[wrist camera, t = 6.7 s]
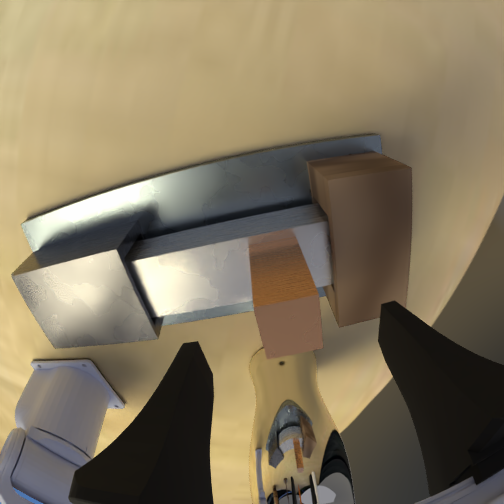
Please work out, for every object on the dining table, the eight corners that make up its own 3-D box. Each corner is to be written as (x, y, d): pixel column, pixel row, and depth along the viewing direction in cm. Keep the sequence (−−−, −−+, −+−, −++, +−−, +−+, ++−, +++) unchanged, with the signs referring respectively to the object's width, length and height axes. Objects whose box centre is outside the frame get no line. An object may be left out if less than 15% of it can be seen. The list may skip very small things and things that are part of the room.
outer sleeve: (81, 330, 24) (61, 369, 20) (26, 220, 19) (-11, 249, 14) (380, 276, 23) (407, 315, 18) (374, 133, 18) (414, 146, 13)
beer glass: (272, 326, 24) (298, 509, 11) (335, 351, 26) (381, 503, 13) (230, 374, 27) (231, 529, 14) (290, 393, 29) (311, 529, 15)
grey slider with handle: (136, 296, 21) (101, 383, 14) (114, 247, 19) (62, 326, 12) (363, 251, 20) (417, 329, 13) (360, 195, 18) (428, 257, 11)
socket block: (321, 285, 22) (338, 327, 18) (306, 161, 18) (327, 180, 13) (379, 272, 21) (405, 310, 17) (374, 151, 17) (411, 167, 13)
